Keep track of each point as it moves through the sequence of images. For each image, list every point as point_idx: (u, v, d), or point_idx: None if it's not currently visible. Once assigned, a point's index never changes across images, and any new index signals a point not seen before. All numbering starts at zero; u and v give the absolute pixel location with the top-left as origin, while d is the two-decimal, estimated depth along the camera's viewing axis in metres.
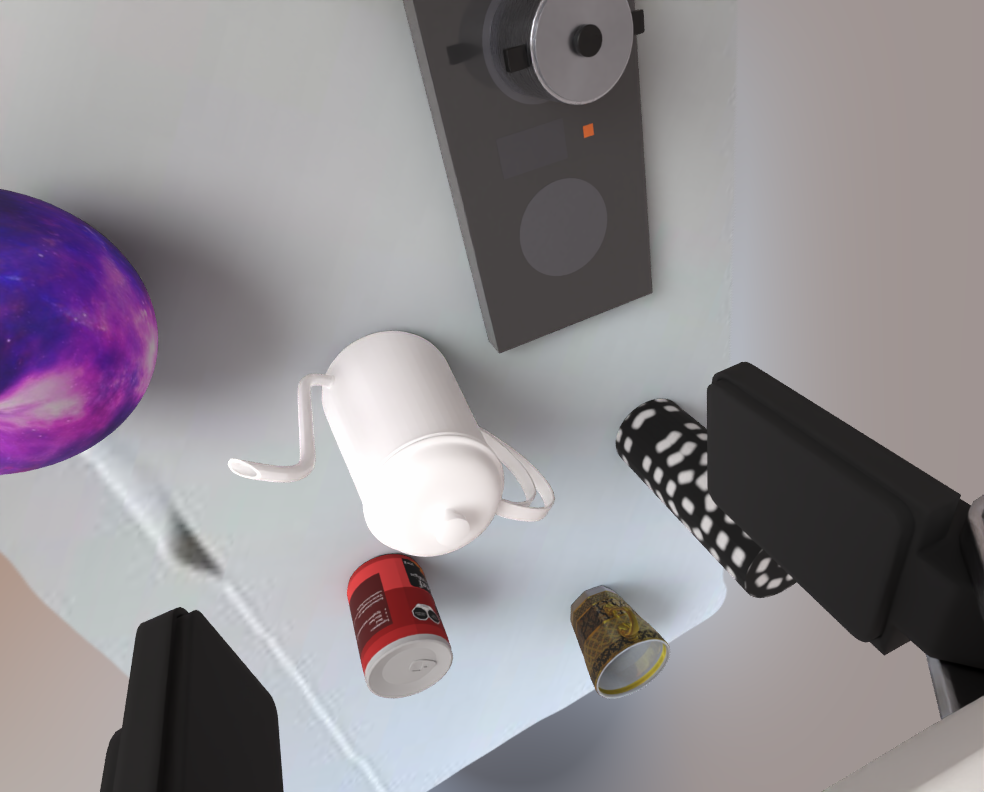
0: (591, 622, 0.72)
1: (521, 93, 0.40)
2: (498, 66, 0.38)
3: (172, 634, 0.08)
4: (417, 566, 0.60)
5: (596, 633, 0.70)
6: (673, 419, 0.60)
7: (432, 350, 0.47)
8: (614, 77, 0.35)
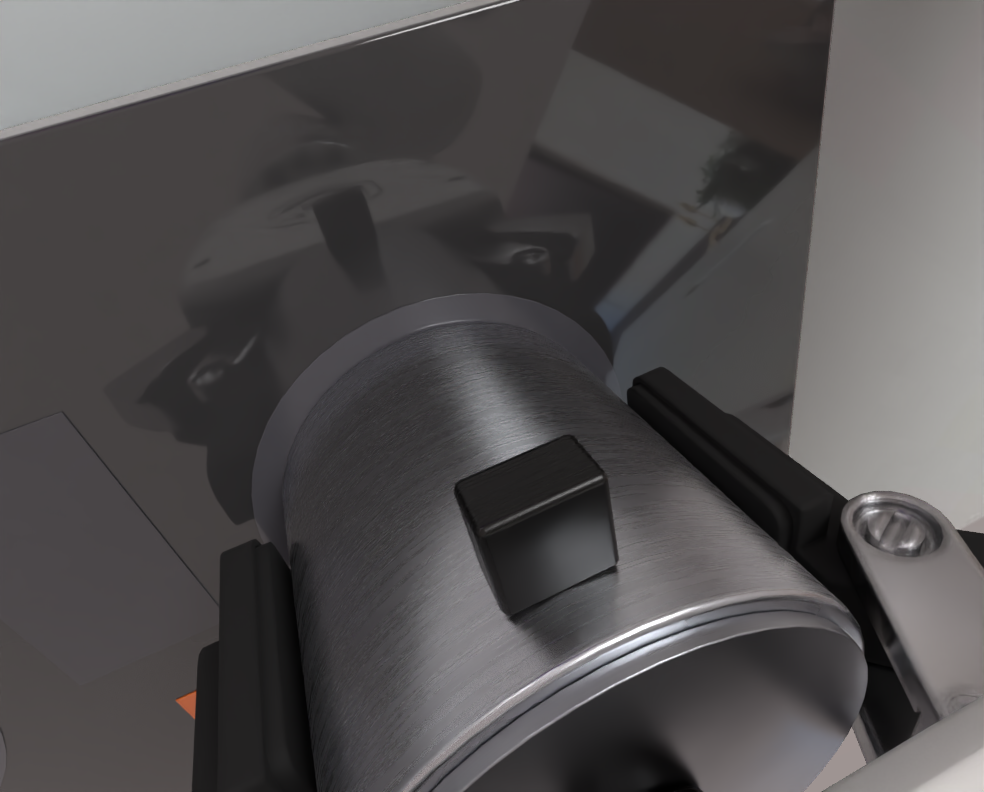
0: None
1: (289, 478, 0.10)
2: (374, 373, 0.09)
3: (253, 560, 0.09)
4: None
5: None
6: None
7: None
8: None
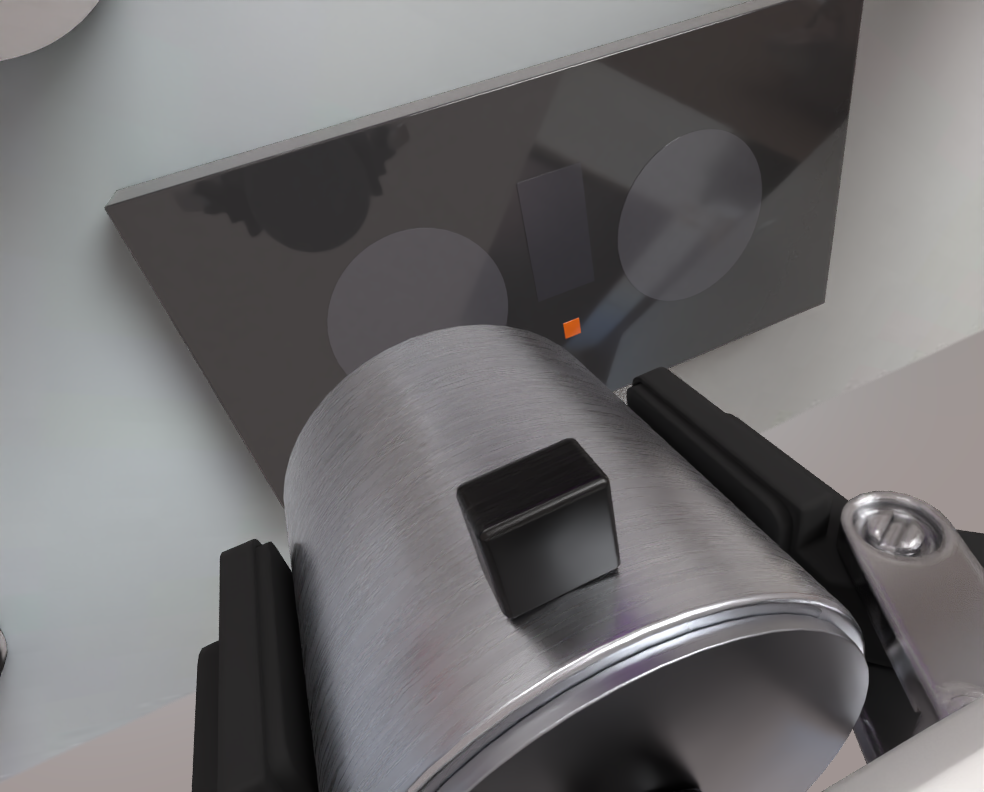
0: None
1: (290, 480, 0.10)
2: (376, 375, 0.09)
3: (253, 559, 0.09)
4: None
5: None
6: None
7: None
8: None
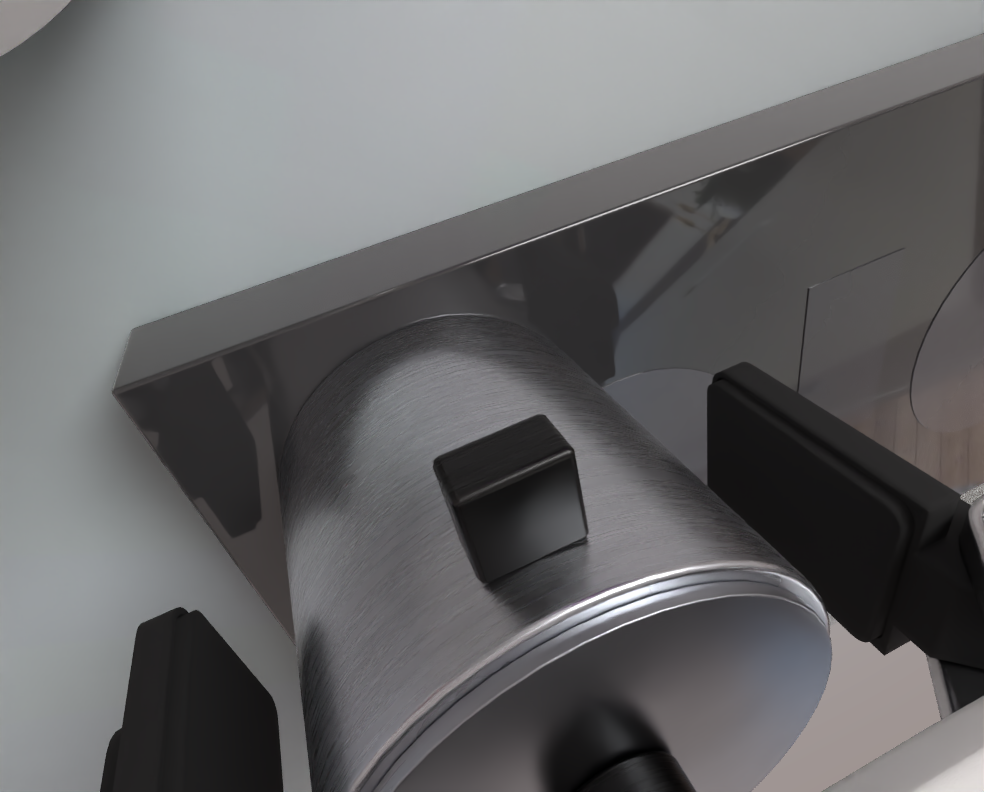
0: None
1: (284, 467, 0.10)
2: (366, 365, 0.10)
3: (172, 634, 0.08)
4: None
5: None
6: None
7: None
8: None
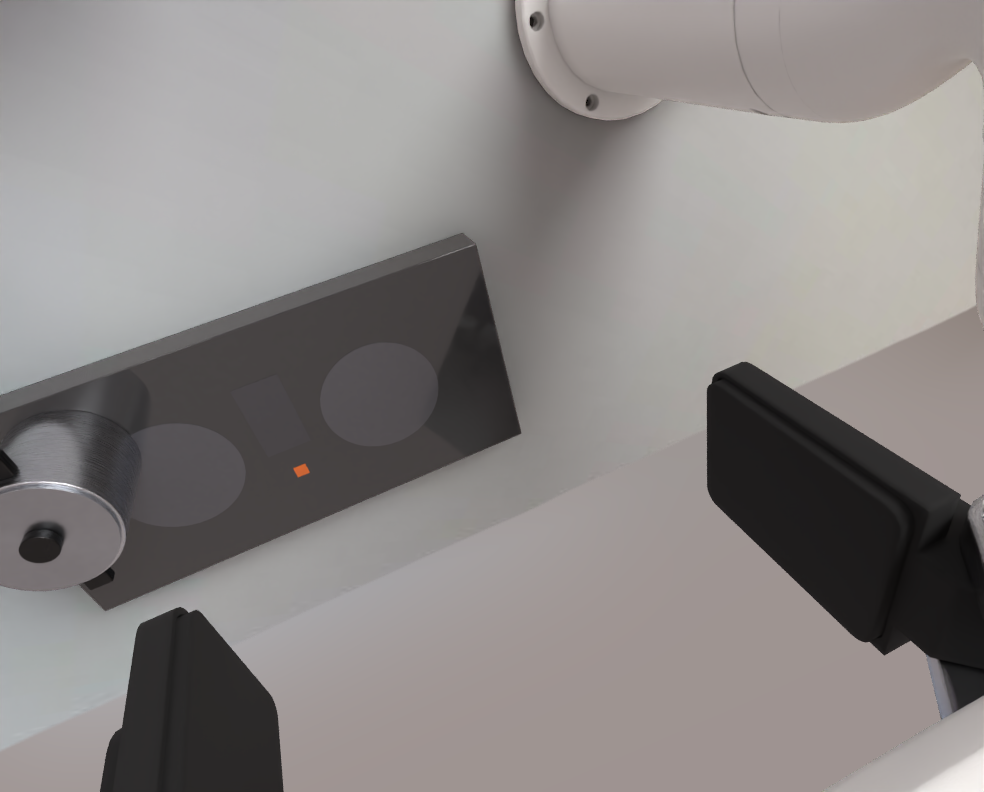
0: None
1: None
2: (16, 428, 0.31)
3: (172, 634, 0.08)
4: None
5: None
6: None
7: None
8: (14, 584, 0.28)
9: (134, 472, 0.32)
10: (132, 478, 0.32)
